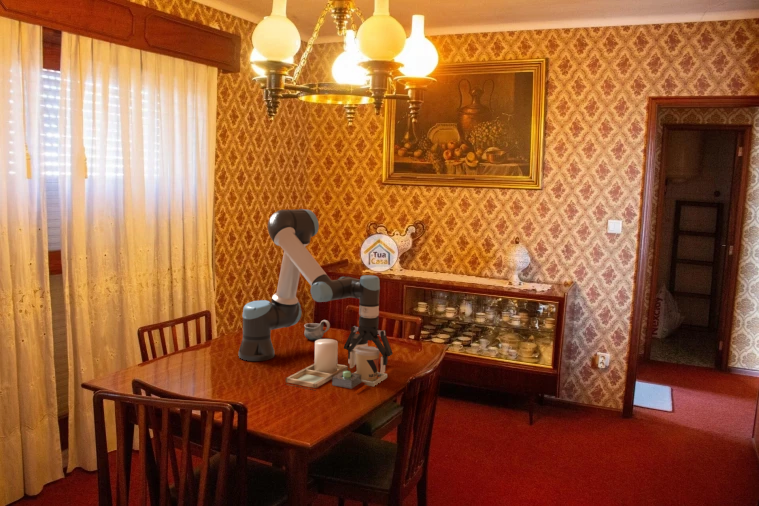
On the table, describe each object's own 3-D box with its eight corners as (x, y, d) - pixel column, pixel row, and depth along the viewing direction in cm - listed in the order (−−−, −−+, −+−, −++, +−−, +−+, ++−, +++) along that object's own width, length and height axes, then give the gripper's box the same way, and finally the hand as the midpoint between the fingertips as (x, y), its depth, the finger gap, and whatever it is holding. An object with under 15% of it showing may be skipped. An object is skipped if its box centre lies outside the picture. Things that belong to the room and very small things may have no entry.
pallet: (285, 384, 226) (285, 378, 226) (319, 366, 249) (319, 360, 248) (315, 390, 221) (315, 384, 220) (347, 372, 243) (347, 366, 243)
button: (341, 382, 226) (341, 372, 225) (345, 380, 228) (345, 370, 228) (348, 384, 224) (348, 373, 224) (352, 381, 227) (352, 371, 227)
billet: (309, 372, 238) (310, 342, 236) (321, 366, 246) (322, 337, 244) (329, 376, 234) (330, 346, 233) (341, 370, 242) (341, 340, 241)
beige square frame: (345, 381, 232) (345, 377, 232) (359, 372, 243) (360, 368, 243) (374, 386, 227) (374, 382, 227) (387, 377, 238) (387, 373, 238)
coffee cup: (370, 385, 229) (371, 354, 227) (350, 380, 234) (350, 349, 232) (383, 378, 237) (384, 348, 235) (363, 373, 242) (364, 344, 240)
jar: (353, 368, 248) (354, 339, 247) (343, 362, 255) (344, 335, 254) (371, 365, 253) (372, 337, 252) (361, 360, 260) (362, 332, 259)
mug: (306, 336, 296) (307, 316, 294) (332, 338, 294) (332, 317, 293) (301, 341, 286) (302, 320, 285) (327, 343, 284) (328, 322, 283)
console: (332, 387, 225) (332, 377, 224) (342, 381, 232) (342, 371, 231) (351, 391, 221) (351, 380, 221) (360, 385, 229) (361, 374, 228)
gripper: (335, 313, 234) (334, 367, 237) (394, 322, 224) (392, 378, 226) (345, 310, 241) (343, 362, 243) (402, 318, 230) (400, 372, 233)
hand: (367, 370), depth 235 cm, fingers open, 12 cm apart
